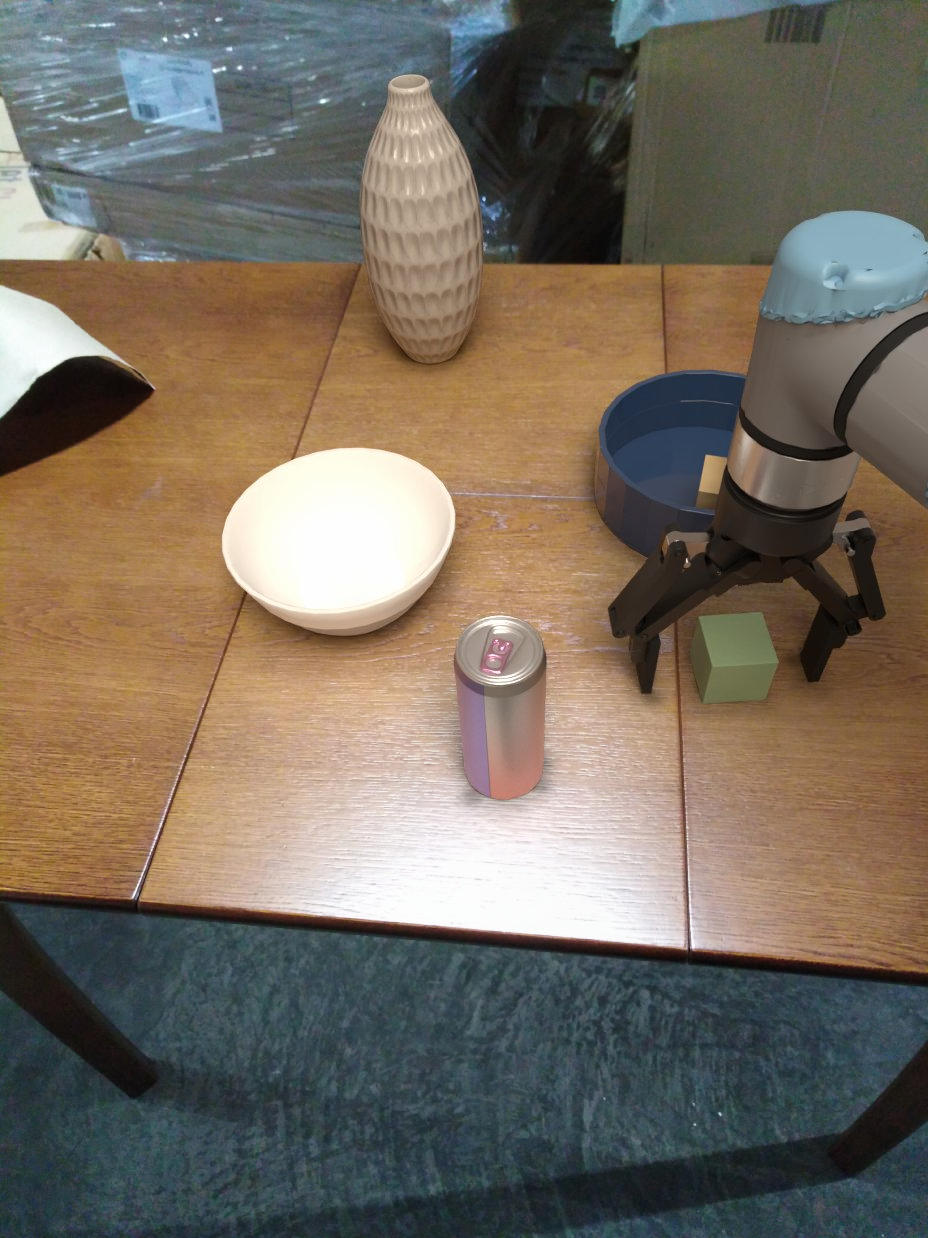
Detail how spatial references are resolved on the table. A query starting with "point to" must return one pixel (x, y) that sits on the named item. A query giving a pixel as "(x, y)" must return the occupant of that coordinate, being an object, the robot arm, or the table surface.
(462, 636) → the beverage can
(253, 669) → the table surface
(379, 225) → the vase
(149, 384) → the table surface
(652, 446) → the navy round tub
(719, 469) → the beech block
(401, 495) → the bowl
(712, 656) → the sage block
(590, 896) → the table surface
